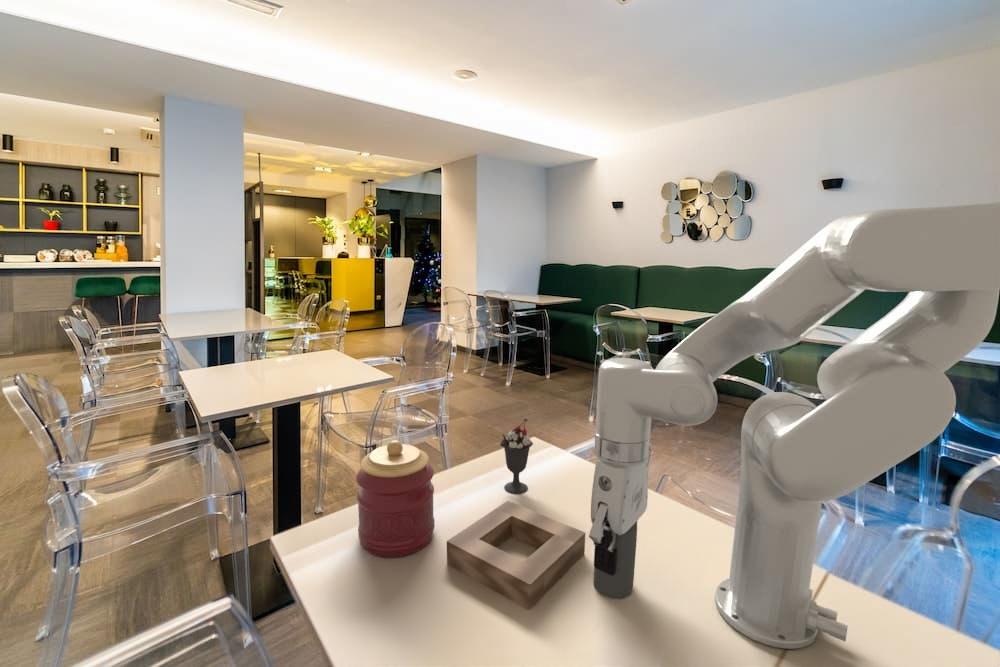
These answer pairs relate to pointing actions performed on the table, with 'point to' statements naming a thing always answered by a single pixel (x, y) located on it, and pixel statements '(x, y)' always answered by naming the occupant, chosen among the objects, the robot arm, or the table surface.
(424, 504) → the canister
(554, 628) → the table surface
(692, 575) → the table surface
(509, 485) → the sundae
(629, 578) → the bottle
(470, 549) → the collar block
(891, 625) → the table surface
